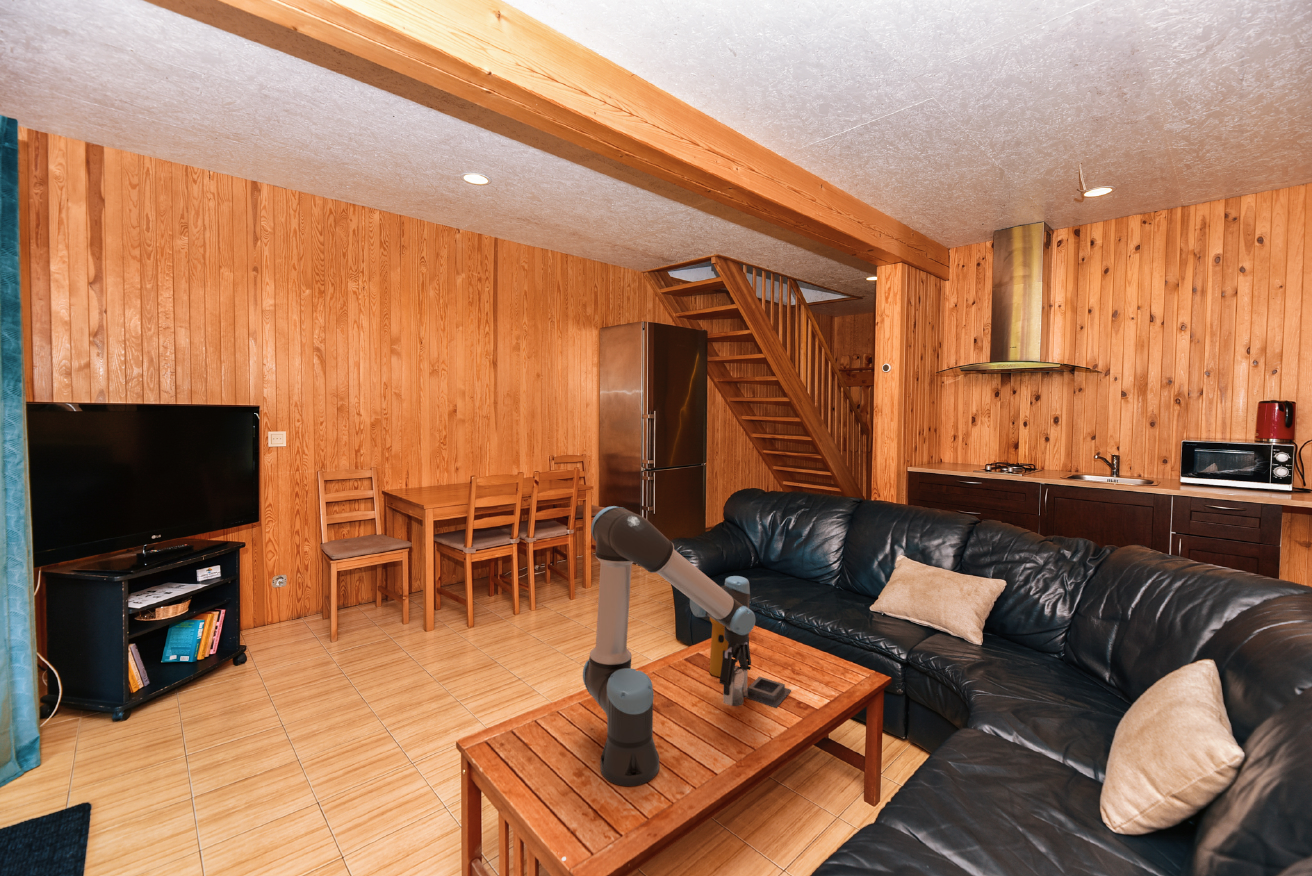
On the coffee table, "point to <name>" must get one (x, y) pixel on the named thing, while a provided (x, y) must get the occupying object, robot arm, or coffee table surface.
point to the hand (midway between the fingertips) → (735, 696)
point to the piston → (738, 686)
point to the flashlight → (717, 647)
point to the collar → (767, 692)
